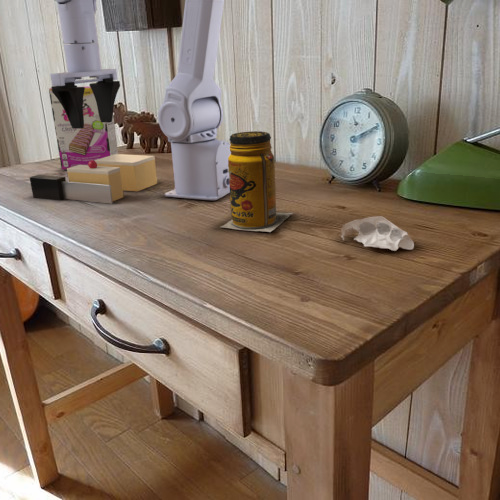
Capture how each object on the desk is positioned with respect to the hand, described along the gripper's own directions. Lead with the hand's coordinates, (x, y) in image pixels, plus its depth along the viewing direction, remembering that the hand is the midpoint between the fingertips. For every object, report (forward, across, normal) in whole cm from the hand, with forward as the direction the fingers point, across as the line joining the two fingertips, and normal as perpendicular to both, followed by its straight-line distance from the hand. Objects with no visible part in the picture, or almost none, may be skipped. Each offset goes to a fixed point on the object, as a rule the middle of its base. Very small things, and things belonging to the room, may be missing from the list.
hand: (92, 125), depth 97 cm
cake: (+10, +1, +7) cm, 13 cm away
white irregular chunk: (+11, +17, +55) cm, 59 cm away
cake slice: (+10, +9, +7) cm, 16 cm away
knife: (+10, +11, +4) cm, 16 cm away
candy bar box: (+11, -10, -11) cm, 18 cm away
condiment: (+11, +13, +38) cm, 42 cm away
